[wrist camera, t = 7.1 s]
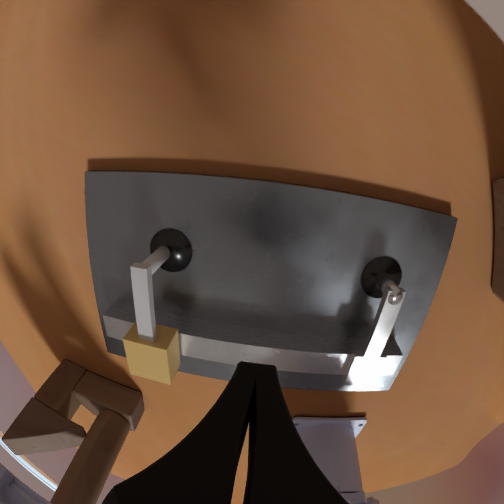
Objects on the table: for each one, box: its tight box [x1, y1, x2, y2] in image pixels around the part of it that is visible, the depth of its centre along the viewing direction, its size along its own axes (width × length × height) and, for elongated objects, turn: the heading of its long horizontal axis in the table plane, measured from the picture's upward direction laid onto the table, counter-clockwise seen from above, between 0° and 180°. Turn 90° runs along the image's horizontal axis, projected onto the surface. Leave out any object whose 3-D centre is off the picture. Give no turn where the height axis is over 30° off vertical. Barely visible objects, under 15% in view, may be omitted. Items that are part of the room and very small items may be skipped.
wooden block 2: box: [2, 360, 144, 504], centre depth 17 cm, size 4×11×18 cm, turn 79°
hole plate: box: [85, 170, 458, 391], centre depth 18 cm, size 16×26×4 cm, turn 84°
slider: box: [123, 246, 180, 385], centre depth 17 cm, size 8×3×4 cm, turn 174°
